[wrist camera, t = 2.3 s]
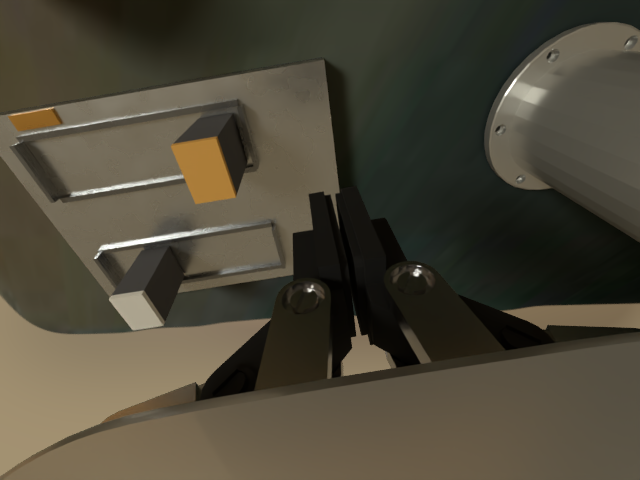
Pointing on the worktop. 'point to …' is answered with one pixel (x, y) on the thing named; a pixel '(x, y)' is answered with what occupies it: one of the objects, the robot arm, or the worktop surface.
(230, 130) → the block
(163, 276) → the fader
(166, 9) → the worktop surface
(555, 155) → the robot arm
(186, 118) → the console
